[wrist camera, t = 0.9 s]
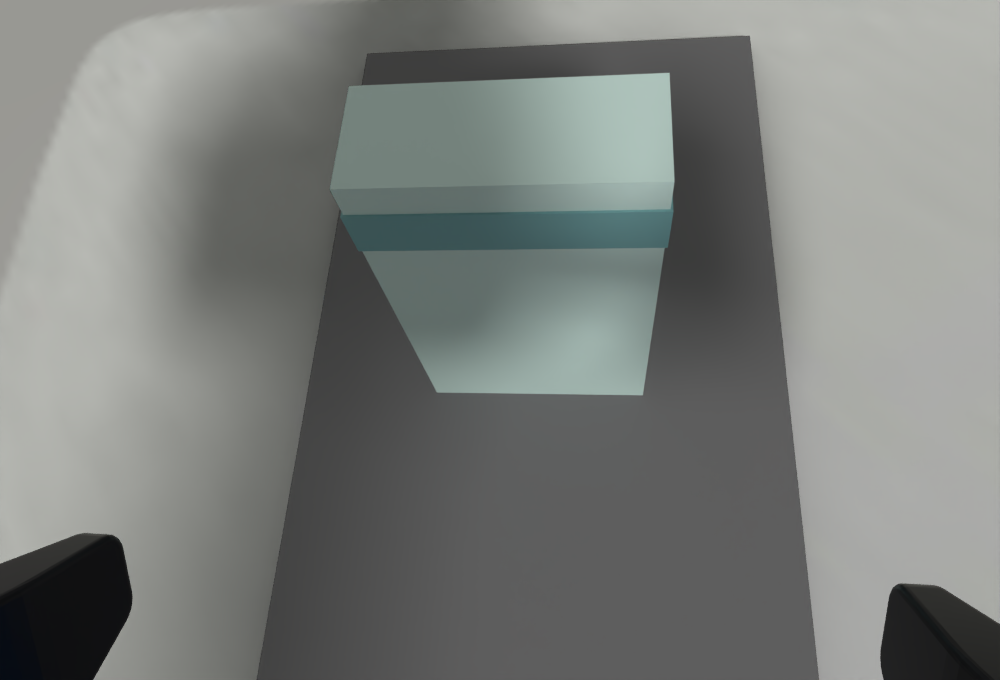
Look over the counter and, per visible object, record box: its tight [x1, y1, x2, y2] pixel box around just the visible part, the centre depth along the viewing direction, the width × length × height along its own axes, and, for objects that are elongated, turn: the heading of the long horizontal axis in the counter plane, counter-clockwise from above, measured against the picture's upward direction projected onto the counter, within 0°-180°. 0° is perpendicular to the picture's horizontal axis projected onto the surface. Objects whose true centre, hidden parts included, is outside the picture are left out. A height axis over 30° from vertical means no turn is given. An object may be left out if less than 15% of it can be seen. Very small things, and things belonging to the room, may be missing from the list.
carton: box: [330, 73, 675, 395], centre depth 18 cm, size 2×6×10 cm, turn 87°
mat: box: [257, 36, 819, 680], centre depth 23 cm, size 24×14×1 cm, turn 177°
